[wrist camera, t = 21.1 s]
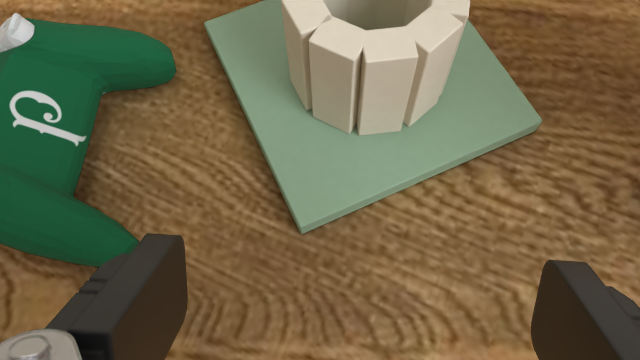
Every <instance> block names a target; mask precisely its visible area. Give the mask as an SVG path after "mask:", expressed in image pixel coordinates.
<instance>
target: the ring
mask: <svg viewBox="0 0 640 360" xmlns="http://www.w3.org/2000/svg"><path fill="white" fill-rule="evenodd" d="M281 7H282V15H283V24H284V32H285V40H286V48H287V56H288V64H289V73H290V80H291V82H292V84H293V86H294V88H295V90H296V92H297V94H298V96H299V98H300V99H301V101H302V103H303V105H304V107H305V109H306V110H310V109H313V117H315V118H317V119H319V120H321V121H323V122H325V123H327V124H329V125H331V126H333V127H336V128H338V129H340V130H342V131H344V132H346V133H348V134H350V133H351V131H352V130H353V128H354V126H355V125H356V124H357V129H358V135H359V136H361V135H370V134H379V133H387V132H396V131H401V127H402V123H405V124H406V125H407V126H408V127H410V126H411V125H412V124H413V123H415V122H416V121H417V120H418V119H419V118H420V117H421V116H423V115H424V114H425V113H426V112H427V111H428V110H430V109H431V108H432V107H433V106H434V105H435V104H436V103H437V101H438V99H439V96H440V95H441V94H442V92H443V89H444V86H445V83H446V80H447V77H448V74H449V72H450V69H451V66H452V63H453V60H454V57H455V54H456V51H457V48H458V45H459V42H460V39H461V36H462V33H463V31H464V28H465V25H466V22H467V19H468V16H469V8H470V0H281Z"/></svg>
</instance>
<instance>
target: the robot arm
mask: <svg viewBox="0 0 640 360" xmlns="http://www.w3.org/2000/svg"><path fill="white" fill-rule="evenodd" d="M187 299H188V295H187V278H186V262H185V246H184V241H183V238H182V236H180V235H165V234H150V233H149V234H146V235H145V236H144V237H143V238H142V240H141V241H140V242H139V243H138V245H137V246H136V247H135V248H134V249H133V251H132V252H131V253H130V254H123V253H121V254H119V255H118V256H116V257H114V258H112V259H111V260H109V261H107V262H105V263H104V264H102V265H101V266H100V267H99V268H98V269H97V270H96V272H95V273H94V274H93V275H92V276H91V277H90V278H89V281H87V282H86V283H85V284H84V285H83V286H82V287H81V288H80V289H79V293H76V294H75V295H74V296H73V297H72V298H71V300H70V301H69V302H68V303H67V304H66V305H65V306H64V307H63V309H62V310H61V311H60V312H59V313H58V314H57V315H56V316H55V318H54V319H53V320H52V321H51V322H50V323H49V324H48V325H47V327H46V328H45V329H38V330H32V331H27V332H24V333H21V334H18V335H15V336H13V337H11V338H9V339H7V340H5V341H3V342H1V343H0V360H165V358H166V356H167V354H168V352H169V350H170V348H171V346H172V344H173V342H174V340H175V338H176V336H177V334H178V332H179V330H180V328H181V326H182V324H183V321H184V318H185V314H186V309H187ZM531 337H532V343H533V347H534V350H535V352H536V354H537V356H538V358H539V360H640V308H639V307H638V306H637V304H636V303H635V302H634V301H633V300H631V299H630V298H628V297H627V296H625V295H624V294H622V293H621V292H619V291H618V290H616V289H615V288H613V287H611V286H605V285H604V283H603V282H602V281H601V280H600V278H599V277H598V276H597V275H596V273H595V272H594V271H593V270H592V268H591V267H590V266H589V265H588V264H587V263H585V262H576V261H560V260H548V261H547V262H546V263H545V265H544V267H543V271H542V275H541V280H540V284H539V289H538V294H537V298H536V303H535V307H534V312H533V317H532V322H531Z"/></svg>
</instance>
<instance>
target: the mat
mask: <svg viewBox="0 0 640 360" xmlns="http://www.w3.org/2000/svg"><path fill="white" fill-rule="evenodd" d="M204 25H205V28H206V31H207V34H208V36H209V39H210V41H211V43H212V45H213V47H214V49H215V51H216V54H217V56H218V58H219V60H220V62H221V64H222V66H223V69H224V71H225V73H226V75H227V77H228V79H229V81H230V84H231V86H232V88H233V90H234V92H235V94H236V97H237V99H238V101H239V103H240V105H241V107H242V109H243V112H244V114H245V116H246V118H247V120H248V122H249V124H250V127H251V129H252V131H253V133H254V135H255V137H256V139H257V142H258V144H259V146H260V148H261V150H262V152H263V155H264V157H265V159H266V161H267V163H268V165H269V167H270V170H271V172H272V174H273V176H274V178H275V180H276V182H277V185H278V187H279V189H280V191H281V193H282V195H283V197H284V200H285V202H286V204H287V206H288V208H289V210H290V213H291V215H292V217H293V219H294V221H295V223H296V225H297V228H298V230H299V232H300V233H301V234H303V233H305V232H308V231H310V230H312V229H315V228H317V227H319V226H321V225H324V224H326V223H328V222H330V221H333V220H335V219H337V218H339V217H342V216H344V215H346V214H349V213H351V212H353V211H355V210H358V209H360V208H362V207H364V206H367V205H369V204H371V203H373V202H376V201H378V200H380V199H382V198H385V197H387V196H389V195H392V194H394V193H396V192H398V191H401V190H403V189H405V188H407V187H410V186H412V185H414V184H416V183H419V182H421V181H423V180H426V179H428V178H430V177H432V176H435V175H437V174H439V173H441V172H444V171H446V170H448V169H450V168H453V167H455V166H457V165H459V164H462V163H464V162H466V161H469V160H471V159H473V158H475V157H478V156H480V155H482V154H484V153H487V152H489V151H491V150H493V149H496V148H498V147H500V146H503V145H505V144H507V143H509V142H512V141H514V140H516V139H518V138H521V137H523V136H525V135H527V134H530V133H532V132H534V131H536V130H537V128H538V127H539V125H540V124H541V123H542V119H541V118H540V116H539V115H538V114H537V112H536V111H535V110H534V108H533V107H532V105H531V104H530V103H529V101H528V100H527V99H526V97H525V96H524V95H523V93H522V92H521V90H520V89H519V88H518V86H517V85H516V84H515V82H514V81H513V80H512V78H511V77H510V75H509V74H508V73H507V71H506V70H505V69H504V67H503V66H502V65H501V63H500V62H499V60H498V59H497V58H496V56H495V55H494V54H493V52H492V51H491V50H490V48H489V47H488V45H487V44H486V43H485V41H484V40H483V39H482V37H481V36H480V35H479V33H478V32H477V31H476V29H475V28H474V26H473V25H472V24H471V22H470V21H469V20H468V19H467V22H466V25H465V28H464V31H463V33H462V36H461V39H460V42H459V45H458V48H457V51H456V54H455V57H454V60H453V63H452V66H451V69H450V72H449V74H448V77H447V80H446V83H445V86H444V89H443V92H442V94H441V95H440V96H439V99H438V101H437V103H436V104H435V105H434V106H433V107H432V108H431V109H430V110H428V111H427V112H426V113H425V114H424V115H423V116H421V117H420V118H419V119H418V120H417V121H416V122H415V123H413V124H412V125H411V126H410V127H408V126H407V125H406V124H405V123H402V127H401V131H396V132H387V133H379V134H370V135H361V136H359V135H358V129H357V124H356V125H355V126H354V128H353V130H352V131H351V133H350V134H348V133H346V132H344V131H342V130H340V129H338V128H336V127H333V126H331V125H329V124H327V123H325V122H323V121H321V120H319V119H317V118H315V117H313V109H310V110H306V109H305V107H304V105H303V103H302V101H301V99H300V98H299V96H298V94H297V92H296V90H295V88H294V86H293V84H292V82H291V80H290V73H289V64H288V56H287V48H286V40H285V32H284V24H283V15H282V7H281V0H264V1H261V2H258V3H256V4H253V5H250V6H247V7H245V8H242V9H239V10H236V11H234V12H231V13H228V14H225V15H223V16H220V17H217V18H214V19H212V20H209V21H206V22H205V23H204Z"/></svg>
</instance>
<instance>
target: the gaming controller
mask: <svg viewBox="0 0 640 360" xmlns="http://www.w3.org/2000/svg"><path fill="white" fill-rule="evenodd" d="M175 73H176V68H175V64H174V60H173V55H172V52H171V50H170V48H168V47H167V46H166V45H165V44H163V43H162V42H161V41H159V40H156V39H154V38H152V37H149V36H147V35H145V34H143V33H140V32H135V31H129V30H124V29H119V28H113V27H107V26H93V25H79V24H65V23H56V22H49V21H42V20H36V19H29V18H23V17H21V16H20V14H17V13H14V14H13V16H11V17H10V18H8V19H7V20H6V21H5V22H4V23H3V24H2V26H1V27H0V244H2V245H5V246H8V247H11V248H14V249H17V250H20V251H23V252H26V253H29V254H33V255H37V256H42V257H46V258H51V259H56V260H60V261H65V262H70V263H74V264H81V265H88V266H96V267H100V266H101V265H102V264H104V263H105V262H107V261H109V260H111V259H112V258H114V257H116V256H118V255H119V254H121V253H123V254H130V253H131V252H132V251H133V249H134V248H135V247H136V246H137V244H138V242H139V241H138V240H137V239H136V238H135V237H134V236H133V235H132V234H131V233H129V232H128V231H127V230H126V229H125V228H124V227H123V226H122V225H121V224H119V223H118V222H117V221H115V220H113V219H112V218H110V217H108V216H107V215H105V214H104V213H102V212H100V211H99V210H97V209H95V208H93V207H91V206H89V205H87V204H85V203H83V202H81V201H79V200H77V199H75V198H74V192H75V189H76V186H77V183H78V179H79V176H80V172H81V169H82V165H83V162H84V158H85V155H86V152H87V148H88V145H89V141H90V137H91V133H92V130H93V126H94V122H95V118H96V114H97V111H98V107H99V102H100V98H101V97H102V96H103V95H104V94H105V93H107V92H112V91H120V90H131V89H140V88H148V87H154V86H157V85H160V84H163V83H166V82H168V81H170V80H171V79H172V78H173V77H174V75H175Z"/></svg>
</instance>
